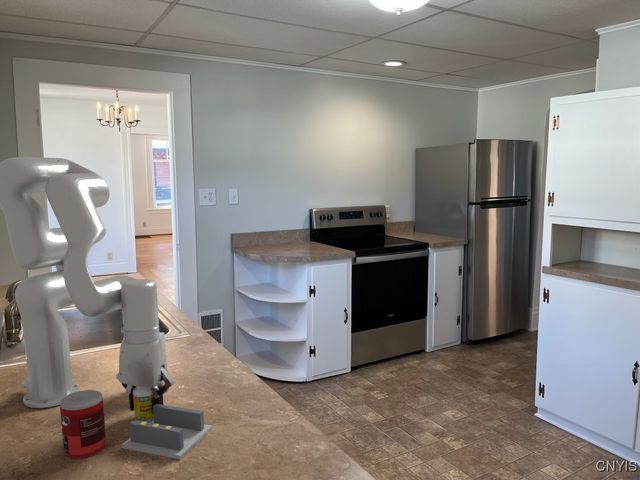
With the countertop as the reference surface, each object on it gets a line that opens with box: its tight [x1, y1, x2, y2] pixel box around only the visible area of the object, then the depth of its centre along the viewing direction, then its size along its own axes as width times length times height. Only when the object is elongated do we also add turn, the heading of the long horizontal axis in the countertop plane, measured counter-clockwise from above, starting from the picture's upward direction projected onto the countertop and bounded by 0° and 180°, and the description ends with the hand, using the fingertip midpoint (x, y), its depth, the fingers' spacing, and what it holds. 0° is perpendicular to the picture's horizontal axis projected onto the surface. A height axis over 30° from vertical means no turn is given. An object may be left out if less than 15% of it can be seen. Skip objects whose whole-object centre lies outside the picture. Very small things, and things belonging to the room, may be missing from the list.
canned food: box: [59, 389, 107, 459], centre depth 99 cm, size 8×8×11 cm
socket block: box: [121, 404, 213, 461], centre depth 103 cm, size 14×12×5 cm
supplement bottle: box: [133, 386, 158, 423], centre depth 112 cm, size 5×5×10 cm
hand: (146, 409), depth 112 cm, fingers closed on supplement bottle, 5 cm apart
